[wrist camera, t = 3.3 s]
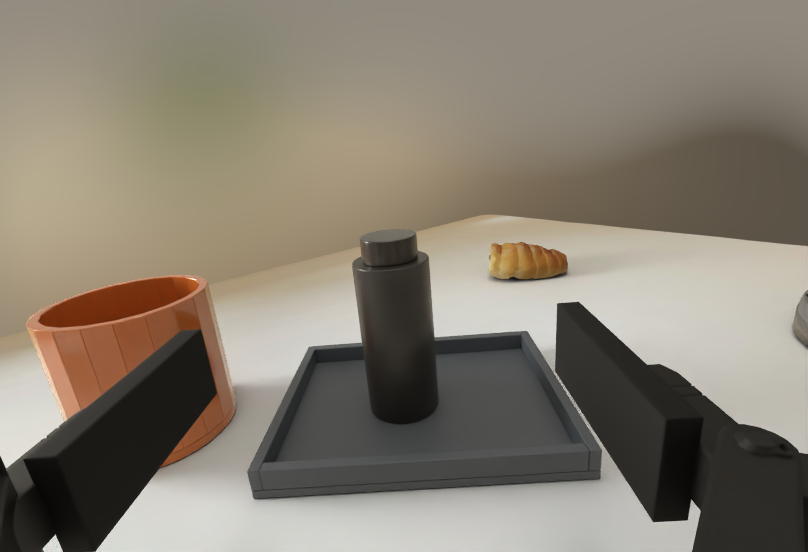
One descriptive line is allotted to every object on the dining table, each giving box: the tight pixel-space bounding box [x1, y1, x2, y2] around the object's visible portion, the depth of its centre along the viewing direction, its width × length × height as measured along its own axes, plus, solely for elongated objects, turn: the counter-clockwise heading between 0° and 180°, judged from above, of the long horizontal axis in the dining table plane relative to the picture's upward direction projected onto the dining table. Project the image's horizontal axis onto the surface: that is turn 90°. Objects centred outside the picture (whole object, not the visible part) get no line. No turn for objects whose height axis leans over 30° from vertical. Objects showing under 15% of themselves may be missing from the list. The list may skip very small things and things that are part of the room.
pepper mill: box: [352, 229, 439, 424], centre depth 25 cm, size 4×4×11 cm
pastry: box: [488, 242, 568, 279], centre depth 50 cm, size 9×7×4 cm
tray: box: [247, 331, 602, 499], centre depth 27 cm, size 17×13×2 cm
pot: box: [26, 275, 236, 467], centre depth 26 cm, size 9×9×9 cm
